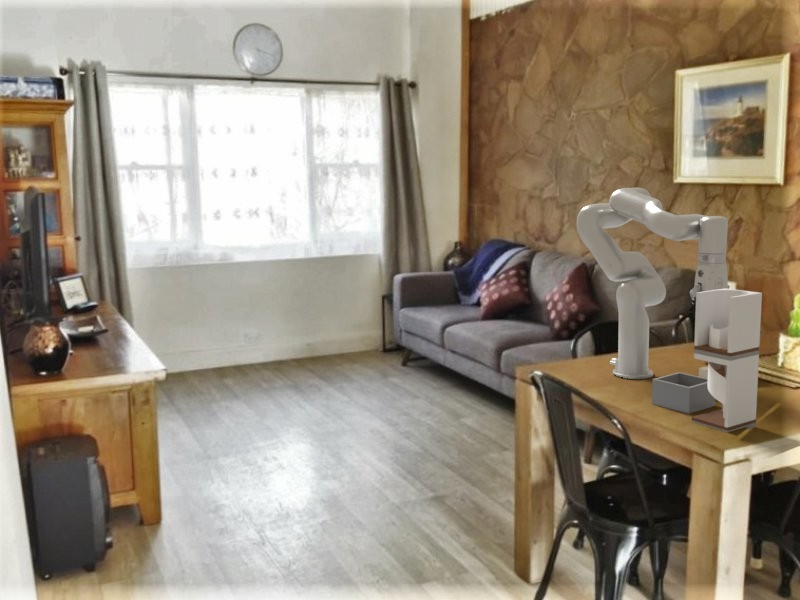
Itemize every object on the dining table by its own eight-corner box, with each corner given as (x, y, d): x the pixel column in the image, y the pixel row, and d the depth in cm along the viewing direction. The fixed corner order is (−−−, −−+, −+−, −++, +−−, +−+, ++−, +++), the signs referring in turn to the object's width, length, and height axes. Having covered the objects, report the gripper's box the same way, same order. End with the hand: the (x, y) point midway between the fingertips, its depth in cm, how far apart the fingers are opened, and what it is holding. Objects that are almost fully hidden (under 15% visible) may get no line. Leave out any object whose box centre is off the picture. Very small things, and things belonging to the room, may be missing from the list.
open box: (651, 406, 217) (652, 379, 215) (678, 398, 223) (679, 372, 222) (688, 416, 207) (689, 388, 206) (715, 408, 213) (716, 380, 212)
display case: (719, 416, 206) (724, 288, 201) (755, 426, 197) (762, 292, 192) (691, 424, 200) (696, 292, 195) (727, 435, 191) (733, 297, 186)
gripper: (704, 262, 215) (701, 322, 218) (741, 257, 224) (737, 314, 227) (681, 259, 221) (678, 317, 224) (718, 255, 231) (715, 311, 234)
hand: (708, 316), depth 226 cm, fingers open, 9 cm apart
